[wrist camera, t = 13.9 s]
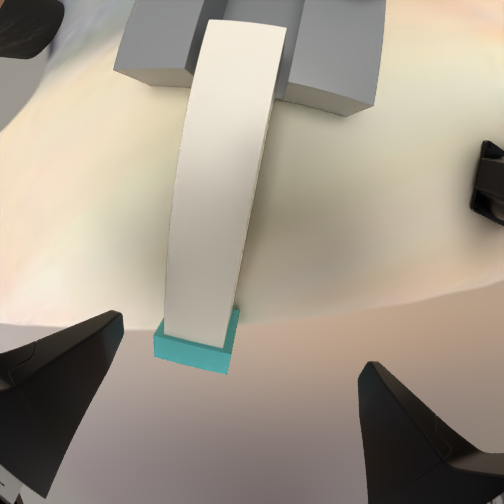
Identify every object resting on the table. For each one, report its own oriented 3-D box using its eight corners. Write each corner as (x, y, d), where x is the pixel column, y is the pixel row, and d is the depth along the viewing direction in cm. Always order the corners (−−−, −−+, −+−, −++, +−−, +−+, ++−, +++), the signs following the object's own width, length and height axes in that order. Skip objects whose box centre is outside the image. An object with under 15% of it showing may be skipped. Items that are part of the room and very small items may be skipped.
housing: (364, -10, 12) (393, -54, 5) (345, 116, 16) (384, 102, 10) (189, -33, 12) (162, -79, 5) (151, 85, 16) (98, 64, 10)
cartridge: (292, 57, 15) (299, 27, 10) (235, 329, 22) (226, 374, 17) (215, 47, 15) (196, 16, 10) (175, 316, 22) (154, 356, 17)
